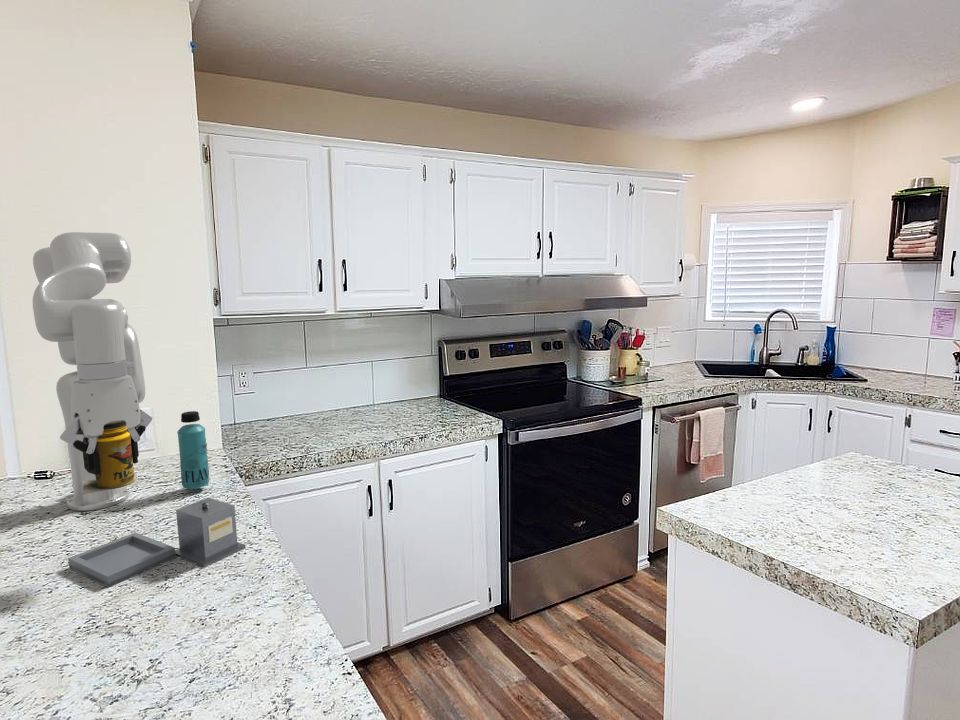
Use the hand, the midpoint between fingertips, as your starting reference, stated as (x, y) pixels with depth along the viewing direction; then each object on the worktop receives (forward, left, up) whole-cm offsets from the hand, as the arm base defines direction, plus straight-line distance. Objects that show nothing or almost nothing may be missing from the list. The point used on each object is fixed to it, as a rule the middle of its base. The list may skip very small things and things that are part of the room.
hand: (113, 466), depth 109 cm
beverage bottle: (-22, +30, -19) cm, 42 cm away
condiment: (0, -1, -3) cm, 3 cm away
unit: (+10, +11, -19) cm, 24 cm away
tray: (0, 0, -19) cm, 19 cm away
